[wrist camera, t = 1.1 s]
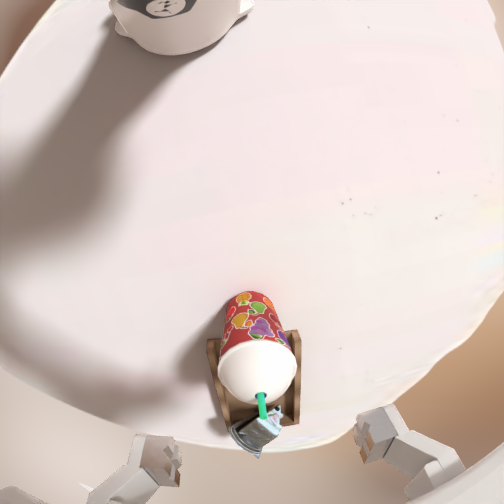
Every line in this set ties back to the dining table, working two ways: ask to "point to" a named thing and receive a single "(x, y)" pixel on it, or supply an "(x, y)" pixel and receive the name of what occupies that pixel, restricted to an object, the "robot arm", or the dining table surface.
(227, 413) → the cradle
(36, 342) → the dining table surface
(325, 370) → the dining table surface
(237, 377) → the smoothie
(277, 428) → the bell
